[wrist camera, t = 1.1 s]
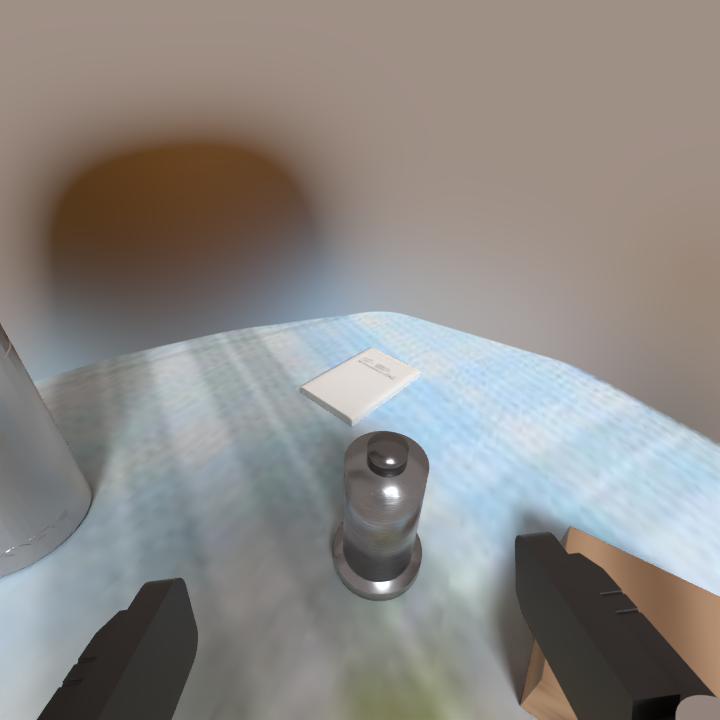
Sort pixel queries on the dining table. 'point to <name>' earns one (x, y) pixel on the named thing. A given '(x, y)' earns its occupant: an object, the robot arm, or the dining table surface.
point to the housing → (381, 515)
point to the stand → (659, 605)
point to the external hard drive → (360, 385)
